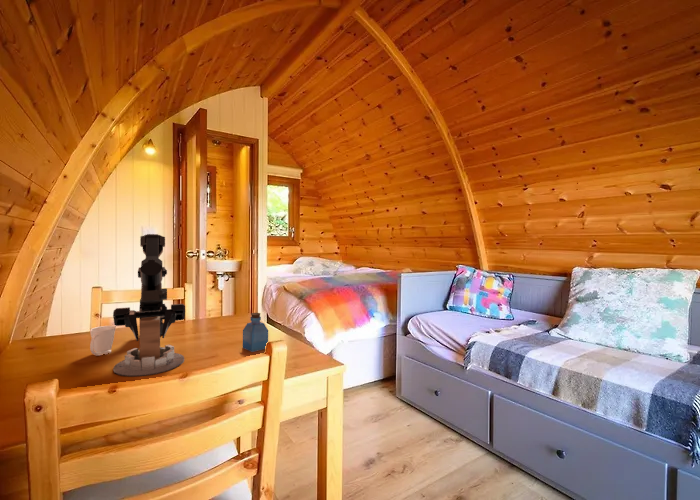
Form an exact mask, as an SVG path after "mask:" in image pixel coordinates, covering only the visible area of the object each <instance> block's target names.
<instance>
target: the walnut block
mask: <svg viewBox="0 0 700 500" xmlns="http://www.w3.org/2000/svg"><path fill="white" fill-rule="evenodd" d="M139 336H140V337H139V350H140V360H142V357H144V356H153V355H155V359H156V358H159V357H160V347H161V335H160V316H158V317H146V318H141V319H140V318H139Z"/></svg>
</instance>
